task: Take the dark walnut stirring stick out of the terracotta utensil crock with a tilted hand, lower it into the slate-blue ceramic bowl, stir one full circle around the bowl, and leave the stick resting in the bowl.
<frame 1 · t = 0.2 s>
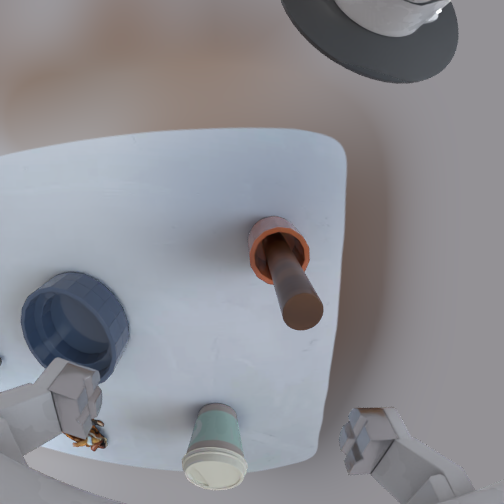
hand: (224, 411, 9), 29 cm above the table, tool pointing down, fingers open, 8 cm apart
stirring stick: (273, 242, 37), resting on crock
pastry: (78, 426, 46), on the table
bowl: (83, 319, 39), on the table
crock: (273, 241, 37), on the table
coffee cup: (217, 415, 45), on the table
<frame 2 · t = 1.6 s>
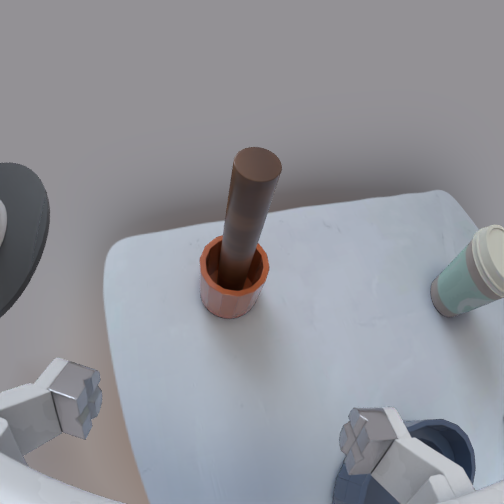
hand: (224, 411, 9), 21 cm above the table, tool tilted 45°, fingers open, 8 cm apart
stirring stick: (228, 289, 32), resting on crock
bowl: (392, 482, 25), on the table
crock: (228, 291, 33), on the table
coffee cup: (445, 297, 37), on the table
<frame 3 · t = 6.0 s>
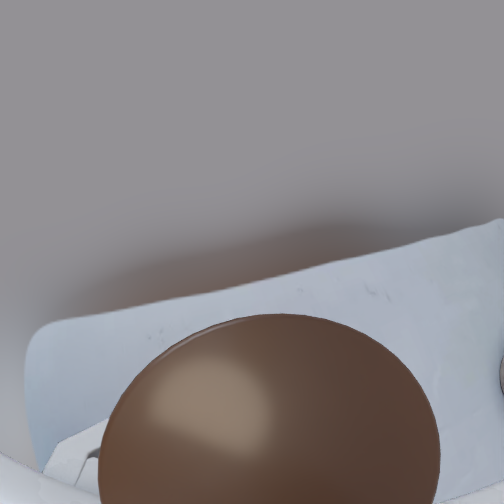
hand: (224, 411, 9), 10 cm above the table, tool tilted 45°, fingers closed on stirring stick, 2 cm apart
stirring stick: (214, 422, 17), point 1 cm above the table, touching crock, gripper
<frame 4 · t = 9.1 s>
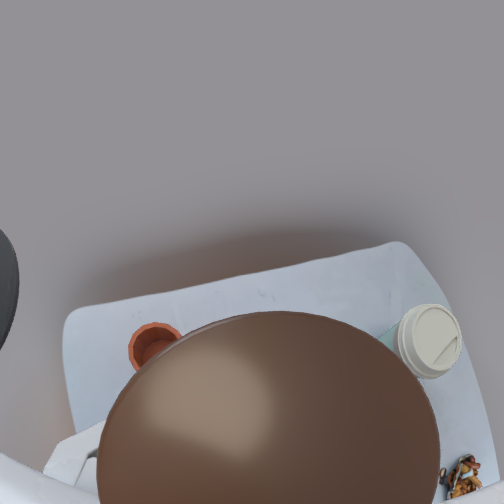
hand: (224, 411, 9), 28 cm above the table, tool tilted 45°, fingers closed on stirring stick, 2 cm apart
stirring stick: (213, 421, 17), point 18 cm above the table, touching gripper
pastry: (457, 490, 30), on the table
crock: (163, 360, 35), on the table
coffee cup: (383, 360, 39), on the table
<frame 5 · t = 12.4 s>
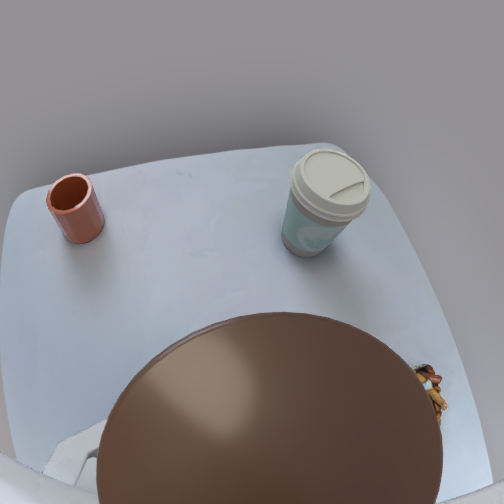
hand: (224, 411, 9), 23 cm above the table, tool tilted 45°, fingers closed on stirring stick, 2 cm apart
stirring stick: (214, 421, 17), point 13 cm above the table, touching gripper
pastry: (417, 413, 31), on the table
crock: (83, 224, 37), on the table
coffee cup: (303, 238, 41), on the table
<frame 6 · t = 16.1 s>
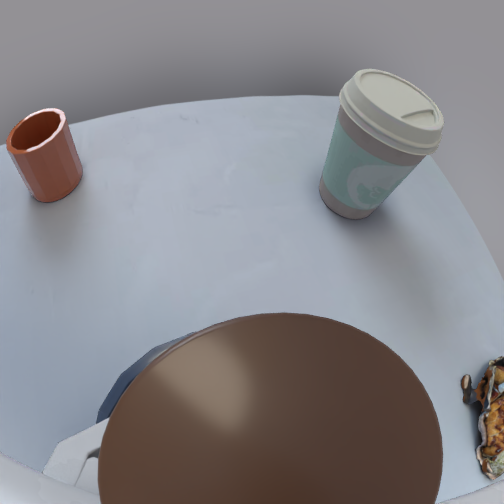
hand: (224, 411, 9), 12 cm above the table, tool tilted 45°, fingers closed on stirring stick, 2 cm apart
stirring stick: (214, 421, 17), point 2 cm above the table, touching gripper
pastry: (492, 420, 20), on the table
bowl: (228, 452, 18), on the table
crock: (56, 178, 26), on the table
coffee cup: (346, 196, 30), on the table
when the fingers open (10 cm above the table, at t = 19.0 s): stirring stick stays where it is, resting on bowl.
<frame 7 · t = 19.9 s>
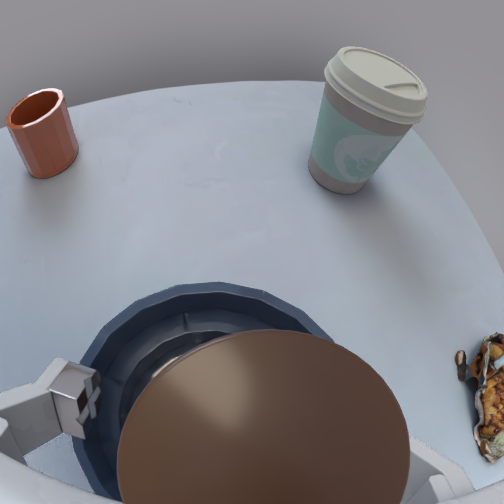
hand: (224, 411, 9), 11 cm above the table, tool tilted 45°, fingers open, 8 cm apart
stirring stick: (214, 421, 18), point 1 cm above the table, touching bowl
pastry: (489, 399, 21), on the table
bowl: (213, 421, 18), on the table
crock: (52, 156, 26), on the table
coffee cup: (336, 172, 30), on the table
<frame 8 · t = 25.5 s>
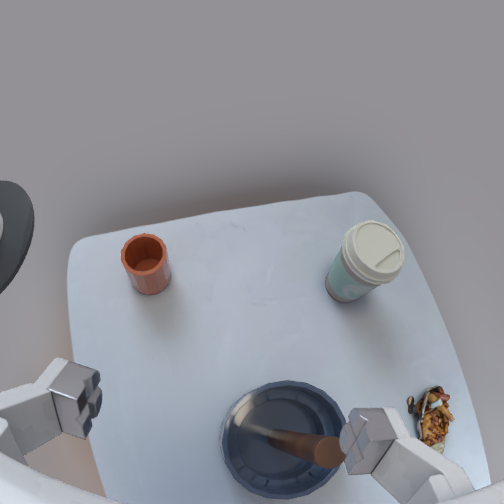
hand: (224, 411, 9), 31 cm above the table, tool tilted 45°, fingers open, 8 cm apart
stirring stick: (277, 438, 35), point 1 cm above the table, touching bowl
pastry: (430, 424, 38), on the table
bowl: (276, 438, 36), on the table
crock: (150, 275, 44), on the table
coffee cup: (342, 285, 48), on the table
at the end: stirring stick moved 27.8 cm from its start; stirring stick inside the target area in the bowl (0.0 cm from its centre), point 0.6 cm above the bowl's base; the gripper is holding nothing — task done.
